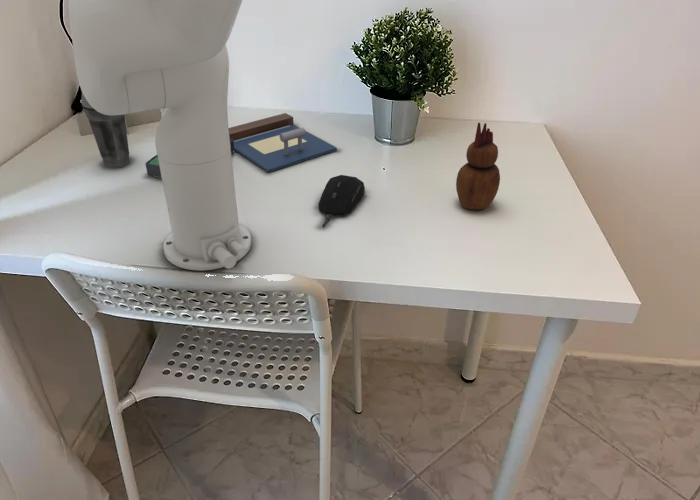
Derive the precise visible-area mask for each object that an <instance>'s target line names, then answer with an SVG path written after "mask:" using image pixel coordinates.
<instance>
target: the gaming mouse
mask: <svg viewBox="0 0 700 500" xmlns="http://www.w3.org/2000/svg"><path fill="white" fill-rule="evenodd" d="M365 190H366V187H365V183H364V182H363V181H362V180H361V179H359V178H358V177H357V176H351V175H345V174H339V175H336V176H333V177H331V178H329V179H328V181H327V183H326V184H325V186H324V189H323V190H322V193H321V196H320V199H319V201H318V206H317V207H318V211H319V212H320V213H322V214H324V215H326V217H325V220H324V221H323V223H322V224H321V226H322V227H323V228H325V227H326V225H327V223H328V222H329V221H330V219H331V217H344V216H346V215H349V214H351V212H352V211H353V210H354V209H355V207H357V205H358V204H359V202H361V200H362V199H363V197H364V195H365V192H366V191H365Z"/></svg>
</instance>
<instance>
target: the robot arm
mask: <svg viewBox="0 0 700 500" xmlns="http://www.w3.org/2000/svg"><path fill="white" fill-rule="evenodd" d="M242 3H243V0H68V16H69V24H70V34H71V40H72V42H71V43H72V50H73V57H74V65H75V72H76V77H77V80H78V84H79V87H80V91H81V94H82V93H83V95H84V96H85V98H86V100H87V101H88V103H89V104H90V105H91V106H92V107H93V108H94V109H95V110H96V111H98V112H99V113H102V114H104V115H123V114H124V115H130V114H136V113H144V112H149V111H155V110H162V109H164V112H163V114H162V116H161V118H160V120H159V122H158V125H157V128H156V131H155V141H154V142H155V150H156V155H158V161H159V166H160V171H161V177H162V178H161V182H162V186H163V187H162V188H163V192H164V197H165V203H166V209H167V214H168V219H169V224H170V229H171V232H170V233H169V234H168V235H167V236H166V237H165V239H164V241H163V245H162V246H163V252H164V256H165V258H166V259H167V261H168V262H169V263H171V264H172V265H174V266H176V267H178V268H181V269H184V270H190V271H202V272H203V271H212V270H218V269H222V268H225V269H226V270H227V269H228V270H229V269H232V268H234V267H235V266H236V264H237V262H238V261H240V260H242V259H243V258H244V257H245V256H246V255H247V254H248V252H249V251H250V249H251V246H252V236H251V232H250V231H249V229H248V228H247V227H246V226H244V225H242V224H241V223H240V221H239V213H238V203H237V196H236V186H235V176H234V169H233V167H234V166H233V160H232V153H231V148H230V138H229V128H230V127H229V117H228V116H229V115H228V93H229V78H230V59H229V51H228V48H227V42H228V40H229V39H230V37H231V34H232V32H233V29H234V26H235V24H236V23H235V22H236V20H237V17H238V14H239V11H240V9H241V5H242Z"/></svg>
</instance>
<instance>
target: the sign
mask: <svg viewBox="0 0 700 500" xmlns="http://www.w3.org/2000/svg"><path fill="white" fill-rule="evenodd" d="M337 150H338V148H337V147H336V146H335V145H333V144H331V143H329V142H327V141H325V140H323V139H321V138H319V137H318V136H315V135H314V134H313V133H310V132H309V131H307V130H306V129H305V128H304V127H299V126H298V125H295V124H294V125H293V126H290V125H289V126H285V127H281V128H278V129H274V130H271V131H267V132H264V133H260V134H256V135H253V136H249V137H246V138H242V139H239V140H235V141H234V151H235V152H236V153H238V154H239V155H241V156H242V157H244V159H246V160H249V161H250V162H252V163H253V164H254V165H255V166H257V167H258V168H260V169H262V170H263V171H265V172H267V173H271V172H275V171H277V170H280V169H283V168H286V167H289V166H293V165H296V164H299V163H302V162H305V161H308V160H311V159H315V158H317V157H321V156H324V155H326V154H329V153H333V152H336V151H337Z"/></svg>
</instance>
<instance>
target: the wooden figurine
mask: <svg viewBox="0 0 700 500" xmlns="http://www.w3.org/2000/svg"><path fill="white" fill-rule="evenodd" d="M465 154H466V155H465V157H466V161H467V162H465V164H463V165H462V166H461V167H460V168H459V170H458V172H457V175H456V181H455V183H456V184H455V189H456V194H457V198H458V201H459V203H460V204H461V205H462V207H464V208H465V209H467V210H472V211H477V210H478V211H480V210H484V209H487V208H488V207H490V205H491V204H492V202H494V200H495V197H496V196H497V194H498V190H499V188H500V183H501V174H500V169H499V167H498V165H496V163H497V160H498V158H499V147H498V145H497V144H495V143H494V131H491V129H490V128H489V127H488V128H487V123H486V122H484V123H483V127H482V128H481V122H478V123H477V126H476V132H475V136H474V141H472V142H471V143H470V144H469V145H468V147H467V148H466V153H465Z"/></svg>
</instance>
